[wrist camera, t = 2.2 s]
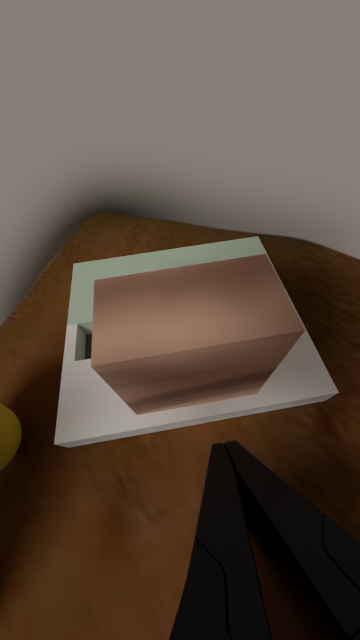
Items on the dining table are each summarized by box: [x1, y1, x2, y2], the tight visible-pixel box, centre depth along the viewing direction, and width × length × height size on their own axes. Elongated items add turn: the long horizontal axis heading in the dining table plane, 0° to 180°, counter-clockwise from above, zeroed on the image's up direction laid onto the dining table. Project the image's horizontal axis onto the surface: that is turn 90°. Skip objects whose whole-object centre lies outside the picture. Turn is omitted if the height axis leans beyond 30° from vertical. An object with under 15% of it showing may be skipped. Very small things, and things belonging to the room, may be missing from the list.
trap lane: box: [54, 236, 339, 448], centre depth 25 cm, size 19×22×2 cm
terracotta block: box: [91, 254, 305, 415], centre depth 16 cm, size 5×10×10 cm, turn 99°
